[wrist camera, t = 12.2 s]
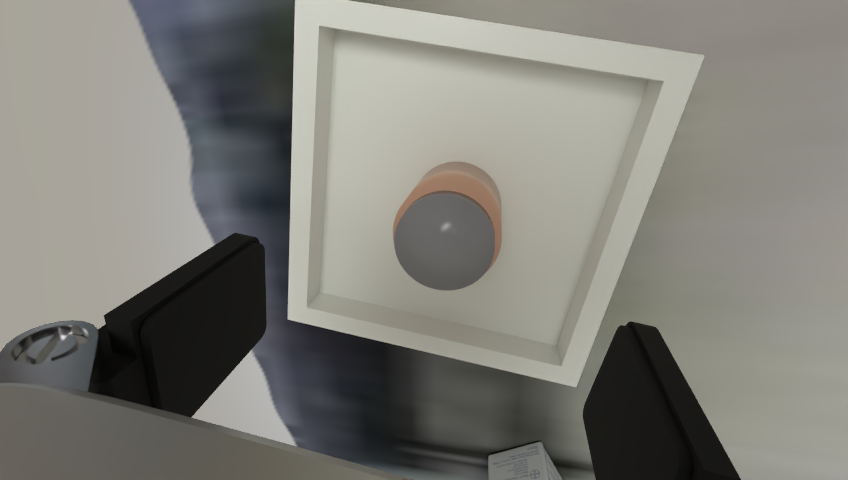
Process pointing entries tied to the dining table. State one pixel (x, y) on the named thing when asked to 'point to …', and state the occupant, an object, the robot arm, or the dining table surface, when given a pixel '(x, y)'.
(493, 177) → the tray
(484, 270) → the shaker
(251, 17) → the dining table surface
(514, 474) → the medicine box
